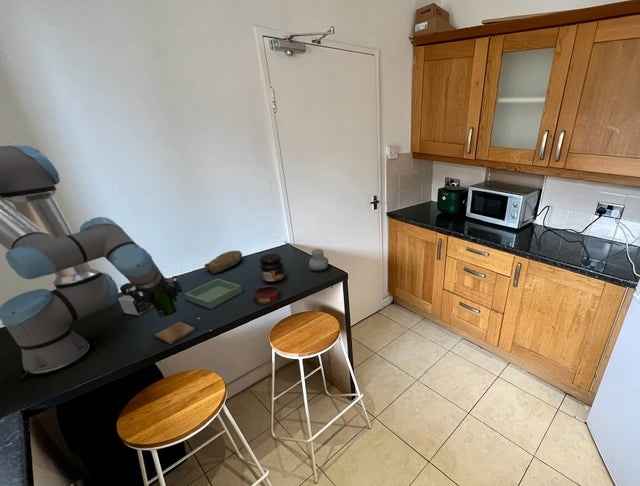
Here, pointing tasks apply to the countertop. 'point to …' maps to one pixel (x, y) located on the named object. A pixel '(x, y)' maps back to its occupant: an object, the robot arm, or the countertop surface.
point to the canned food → (266, 294)
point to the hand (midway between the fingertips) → (164, 300)
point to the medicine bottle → (132, 302)
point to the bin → (213, 293)
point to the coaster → (175, 332)
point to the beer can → (164, 304)
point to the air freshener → (318, 260)
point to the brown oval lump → (224, 261)
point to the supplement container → (272, 268)
